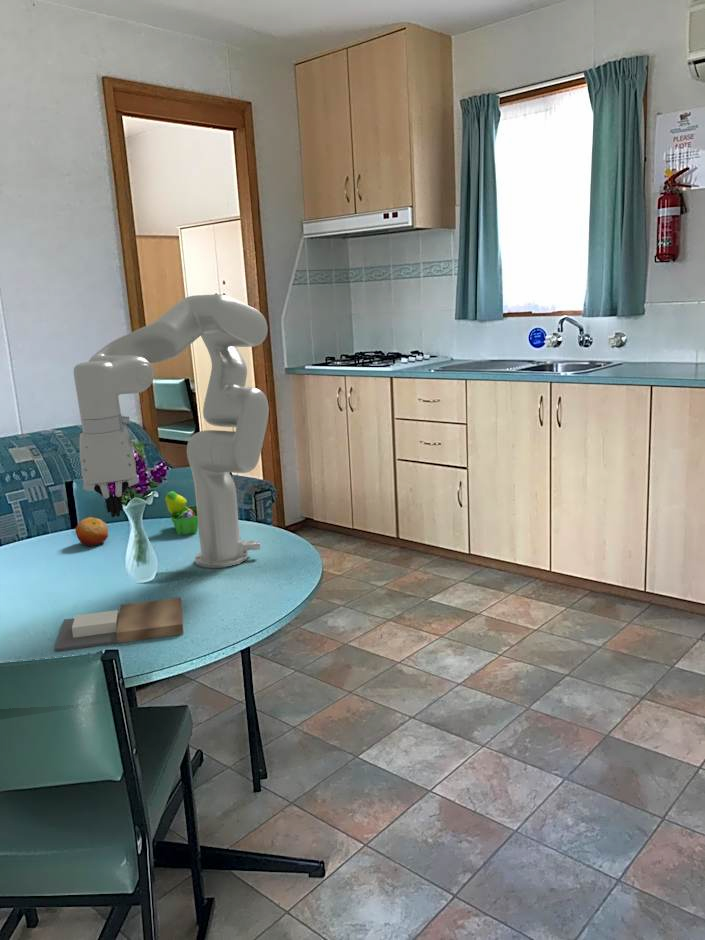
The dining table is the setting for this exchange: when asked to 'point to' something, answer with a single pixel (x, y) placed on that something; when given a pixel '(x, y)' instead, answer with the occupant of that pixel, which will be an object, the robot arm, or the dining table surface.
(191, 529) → the green easter basket
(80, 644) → the mat
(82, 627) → the block
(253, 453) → the robot arm
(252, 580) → the dining table surface
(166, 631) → the board
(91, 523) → the fruit
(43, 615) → the dining table surface
